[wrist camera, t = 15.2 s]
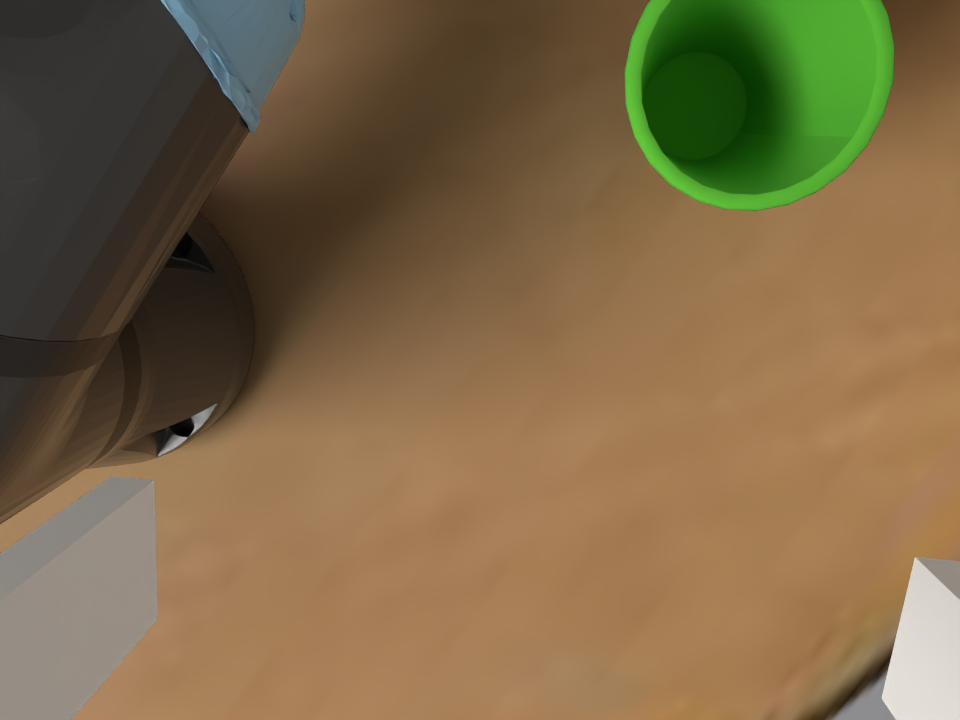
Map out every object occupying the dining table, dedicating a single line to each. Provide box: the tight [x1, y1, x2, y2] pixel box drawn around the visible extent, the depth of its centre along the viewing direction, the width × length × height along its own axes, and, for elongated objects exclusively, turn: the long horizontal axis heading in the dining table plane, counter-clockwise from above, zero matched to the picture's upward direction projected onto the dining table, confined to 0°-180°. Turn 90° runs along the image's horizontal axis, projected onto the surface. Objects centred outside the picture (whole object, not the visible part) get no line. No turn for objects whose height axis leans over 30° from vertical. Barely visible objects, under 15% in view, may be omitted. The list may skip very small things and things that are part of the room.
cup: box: [624, 0, 894, 211], centre depth 31 cm, size 9×9×11 cm
